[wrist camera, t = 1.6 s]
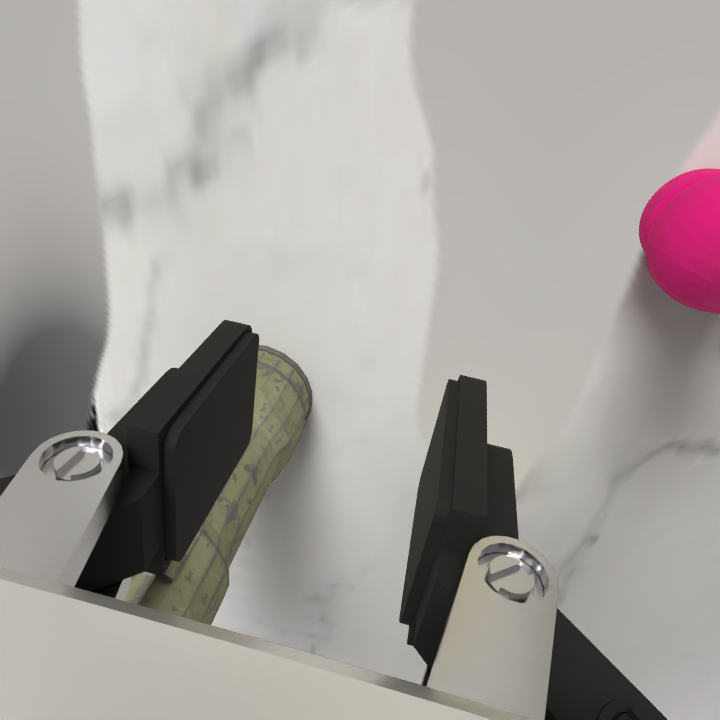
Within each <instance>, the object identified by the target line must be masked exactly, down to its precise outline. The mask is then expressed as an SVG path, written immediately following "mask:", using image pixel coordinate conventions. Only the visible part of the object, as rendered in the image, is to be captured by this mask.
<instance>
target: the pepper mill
mask: <svg viewBox="0 0 720 720" xmlns="http://www.w3.org/2000/svg"><path fill="white" fill-rule="evenodd" d="M639 237H640V242H641V245H642V247H643V249H644V251H645V253H646V259H647V265H648V268H649V271H650V273H651V275H652V277H653V279H654V280H655V282H656V283H657V284H658V286H660V287H661V288H662V289H663V290H664V291H665V292H666V293H667V294H668V295H669V296H671V297H672V298H673V299H674V300H676V301H678V302H680V303H682V304H684V305H686V306H689V307H691V308H694V309H697V310H700V311H706V312H712V313H720V169H700V170H693V171H690V172H687V173H684V174H681V175H679V176H677V177H675V178H674V179H672V180H670V181H669V182H667V183H666V184H664V185H663V186H662V187H661V188H660V189H659V190H658V191H657V192H656V193H655V194H654V195H653V196H652V198H651V199H650V200H649V202H648V203H647V205H646V207H645V209H644V211H643V213H642V216H641V220H640V226H639Z"/></svg>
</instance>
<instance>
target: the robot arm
mask: <svg viewBox="0 0 720 720" xmlns="http://www.w3.org/2000/svg"><path fill="white" fill-rule="evenodd" d="M258 348H259V335H258V334H255V333H252V328H251V326H250V325H246V324H241V323H237V322H233V321H228V320H224V321H223V322H222V323H221V324H220V325H219V326H218V327H217V328H216V329H215V330H214V331H213V332H212V333H211V335H210V336H209V337H208V338H207V339H206V340H205V341H204V342H203V343H202V344H201V345H200V346H199V347H198V349H197V350H196V351H195V352H194V353H193V354H192V355H191V356H190V357H189V358H188V359H187V360H186V361H185V362H184V364H183V365H182V366H181V367H180V368H179V369H178V368H171V369H169V370H168V371H167V372H166V373H165V374H164V375H163V376H162V377H161V378H160V379H159V380H158V381H157V382H156V383H155V384H154V385H153V386H152V387H151V388H150V390H149V391H148V392H147V393H146V394H145V395H144V396H143V397H142V398H141V399H140V400H139V401H138V402H137V403H136V404H135V405H134V406H133V407H132V408H131V409H130V410H129V411H128V412H127V413H126V415H125V416H124V417H123V418H122V419H121V420H120V421H119V422H118V423H117V424H116V425H115V426H114V427H113V428H112V429H111V430H110V431H109V432H108V433H107V434H106V433H101V432H97V431H75V432H68V433H65V434H61V435H59V436H56V437H53V438H51V439H50V440H48V441H46V442H44V443H42V444H41V445H40V446H39V447H38V448H37V449H36V450H35V451H34V452H33V453H32V454H31V455H30V457H29V458H28V459H27V461H26V462H25V464H24V465H23V466H22V468H21V469H20V470H19V472H18V473H17V474H16V475H13V476H9V477H5V478H1V479H0V720H667V719H666V717H665V716H664V715H663V714H662V713H661V712H660V711H659V710H658V709H657V708H656V707H655V706H654V705H653V704H652V703H651V702H650V701H649V700H648V699H647V698H646V697H645V696H644V695H643V694H642V693H641V692H640V691H639V690H638V689H637V688H636V687H635V686H634V685H633V684H632V683H631V682H630V681H629V680H628V679H627V678H626V677H625V676H624V675H623V674H622V673H621V672H620V671H619V670H618V669H617V668H616V667H615V666H614V665H613V664H612V663H611V662H610V661H609V660H608V659H607V658H606V657H605V656H604V655H603V654H602V653H601V652H600V651H599V650H598V649H597V648H596V647H595V646H594V645H593V644H592V643H591V642H590V641H589V640H588V639H587V638H586V637H585V636H584V635H583V634H582V633H581V632H580V631H579V630H578V629H577V628H576V627H575V626H574V625H573V624H572V623H571V622H570V621H569V620H568V619H567V618H566V617H565V616H564V615H563V614H562V613H561V612H560V611H559V609H558V608H557V603H558V594H559V587H558V578H557V576H556V574H555V572H554V569H553V567H552V566H551V565H550V563H549V562H548V561H547V560H546V558H545V557H544V556H543V555H542V554H541V553H539V552H538V551H537V550H536V549H534V548H533V547H532V546H530V545H528V544H526V543H524V542H522V541H520V540H519V539H518V525H517V511H516V497H515V483H514V469H513V456H512V451H511V450H510V449H507V448H503V447H498V446H494V445H490V444H487V392H486V391H487V390H486V389H487V386H486V381H484V380H480V379H475V378H471V377H467V376H463V375H460V376H459V379H458V381H455V380H451V379H449V380H448V383H447V386H446V390H445V393H444V397H443V401H442V404H441V407H440V411H439V414H438V418H437V421H436V425H435V429H434V432H433V435H432V439H431V442H430V446H429V449H428V453H427V456H426V460H425V463H424V467H423V471H422V474H421V478H420V482H419V487H418V493H417V500H416V507H415V514H414V521H413V528H412V535H411V542H410V549H409V556H408V562H407V569H406V576H405V583H404V590H403V597H402V604H401V611H400V618H399V622H400V623H403V624H407V625H409V632H408V640H407V644H408V645H412V646H414V648H415V649H416V650H417V652H418V653H419V654H420V656H421V657H422V658H423V660H424V661H425V663H426V664H427V666H426V669H425V672H424V675H423V678H422V681H421V685H418V684H415V683H411V682H408V681H404V680H401V679H398V678H394V677H391V676H387V675H384V674H380V673H377V672H373V671H370V670H366V669H363V668H359V667H356V666H352V665H349V664H345V663H342V662H338V661H335V660H332V659H328V658H325V657H321V656H318V655H314V654H311V653H307V652H304V651H300V650H297V649H293V648H290V647H286V646H282V645H279V644H275V643H272V642H268V641H265V640H261V639H258V638H254V637H251V636H247V635H244V634H240V633H236V632H233V631H229V630H226V629H222V628H219V627H215V626H212V625H208V624H205V623H201V622H197V621H194V620H190V619H187V618H183V617H180V616H176V615H173V614H169V613H165V612H162V611H158V610H155V609H151V608H148V607H144V606H140V605H137V604H133V603H130V602H126V601H124V600H125V598H126V595H127V592H128V590H129V587H130V584H131V579H132V576H134V575H137V574H140V573H143V572H148V573H151V574H155V575H158V576H162V577H163V575H164V573H165V572H166V570H167V568H168V567H169V565H170V563H171V562H172V560H173V561H177V562H179V561H181V560H182V558H183V557H184V555H185V554H186V552H187V550H188V549H189V547H190V545H191V543H192V542H193V540H194V538H195V537H196V535H197V533H198V531H199V530H200V528H201V526H202V524H203V523H204V521H205V519H206V518H207V516H208V514H209V512H210V511H211V509H212V507H213V506H214V504H215V502H216V500H217V499H218V497H219V495H220V494H221V492H222V490H223V488H224V487H225V485H226V483H227V481H228V480H229V478H230V476H231V475H232V473H233V471H234V469H235V468H236V466H237V464H238V463H239V461H240V459H241V457H242V456H243V454H244V452H245V451H246V449H247V447H248V445H249V442H250V439H251V435H252V427H253V414H254V400H255V387H256V374H257V361H258Z"/></svg>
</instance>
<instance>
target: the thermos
mask: <svg viewBox="0 0 720 720" xmlns="http://www.w3.org/2000/svg"><path fill="white" fill-rule="evenodd" d="M311 406H312V391H311V388H310V385H309V382H308V379H307V377H306V375H305V374H304V373H303V371H302V370H301V369H300V367H299V366H298V364H296V363H295V362H294V361H293V360H291V359H290V358H289V357H288V356H286V355H285V354H284V353H282V352H279V351H277V350H275V349H272V348H270V347H267V346H261V345H259V348H258V361H257V374H256V387H255V400H254V414H253V427H252V435H251V439H250V442H249V445H248V447H247V449H246V451H245V452H244V454H243V456H242V457H241V459H240V461H239V463H238V464H237V466H236V468H235V469H234V471H233V473H232V475H231V476H230V478H229V480H228V481H227V483H226V485H225V487H224V488H223V490H222V492H221V494H220V495H219V497H218V499H217V500H216V502H215V504H214V506H213V507H212V509H211V511H210V512H209V514H208V516H207V518H206V519H205V521H204V523H203V524H202V526H201V528H200V530H199V531H198V533H197V535H196V537H195V538H194V540H193V542H192V543H191V545H190V547H189V549H188V550H187V552H186V554H185V555H184V557H183V558H182V560H181V561H179V562H177V561H173V560H172V562H171V563H170V565H169V567H168V568H167V570H166V572H165V573H164V575H163V577H162V576H158V575H155V574H151V573H148V572H143V573H140V574H137V575H134V576H132V579H131V584H130V587H129V590H128V592H127V595H126V598H125V600H124V601H126V602H130V603H133V604H137V605H140V606H144V607H148V608H151V609H155V610H158V611H162V612H165V613H169V614H173V615H176V616H180V617H183V618H187V619H190V620H194V621H197V622H201V623H205V624H208V625H211V624H212V622H213V620H214V618H215V615H216V613H217V611H218V609H219V607H220V605H221V603H222V600H223V598H224V596H225V593H226V591H227V589H228V586H229V567H230V564H231V562H232V560H233V558H234V556H235V554H236V552H237V550H238V548H239V546H240V544H241V542H242V540H243V538H244V536H245V533H246V531H247V529H248V527H249V525H250V523H251V521H252V519H253V517H254V515H255V513H256V511H257V509H258V507H259V504H260V502H261V500H262V498H263V496H264V494H265V492H266V490H267V488H268V486H269V484H270V482H272V481H273V480H274V479H275V478H276V476H277V475H278V474H279V473H280V471H281V470H282V469H283V467H284V466H285V465H286V464H287V462H288V461H289V459H290V457H291V455H292V453H293V450H294V448H295V446H296V444H297V442H298V440H299V438H300V435H301V433H302V430H303V428H304V426H305V420H306V418H307V416H308V413H309V411H310V409H311Z"/></svg>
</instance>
